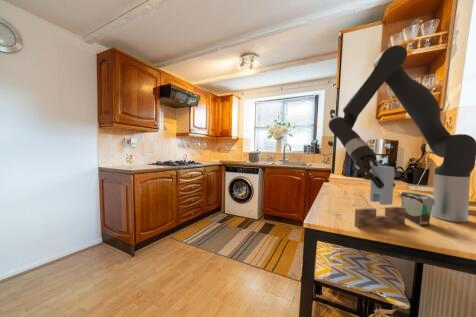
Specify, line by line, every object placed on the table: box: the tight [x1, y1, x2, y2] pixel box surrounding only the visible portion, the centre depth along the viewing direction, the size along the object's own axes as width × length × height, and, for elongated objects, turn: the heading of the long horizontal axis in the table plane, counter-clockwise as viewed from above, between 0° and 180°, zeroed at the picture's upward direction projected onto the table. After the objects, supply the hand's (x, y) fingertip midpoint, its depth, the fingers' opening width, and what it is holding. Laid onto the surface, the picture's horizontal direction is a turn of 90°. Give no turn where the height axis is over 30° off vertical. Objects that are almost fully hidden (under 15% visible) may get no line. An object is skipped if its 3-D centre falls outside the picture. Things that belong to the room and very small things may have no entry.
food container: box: [400, 191, 435, 227], centre depth 68 cm, size 12×6×10 cm, turn 168°
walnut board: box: [354, 205, 406, 228], centre depth 65 cm, size 20×1×6 cm, turn 101°
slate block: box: [369, 165, 395, 206], centre depth 65 cm, size 4×5×13 cm
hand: (387, 187), depth 63 cm, fingers closed on slate block, 4 cm apart
